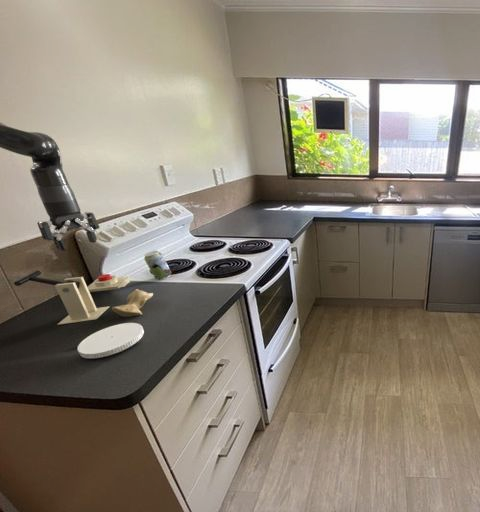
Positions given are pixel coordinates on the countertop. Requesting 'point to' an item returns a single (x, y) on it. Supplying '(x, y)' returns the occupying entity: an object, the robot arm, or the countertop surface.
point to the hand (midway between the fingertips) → (79, 246)
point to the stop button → (104, 277)
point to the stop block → (108, 284)
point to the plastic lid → (110, 340)
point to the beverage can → (157, 265)
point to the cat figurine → (133, 304)
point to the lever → (40, 280)
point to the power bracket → (78, 301)
